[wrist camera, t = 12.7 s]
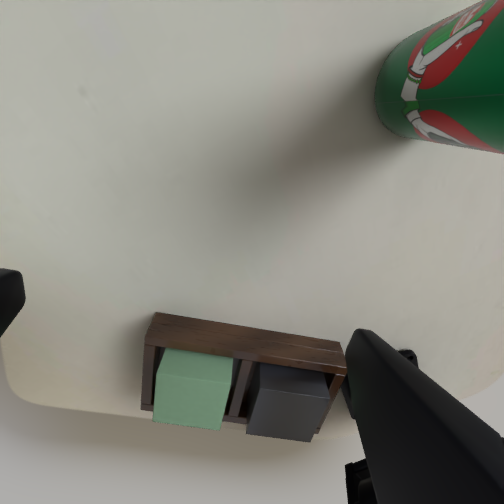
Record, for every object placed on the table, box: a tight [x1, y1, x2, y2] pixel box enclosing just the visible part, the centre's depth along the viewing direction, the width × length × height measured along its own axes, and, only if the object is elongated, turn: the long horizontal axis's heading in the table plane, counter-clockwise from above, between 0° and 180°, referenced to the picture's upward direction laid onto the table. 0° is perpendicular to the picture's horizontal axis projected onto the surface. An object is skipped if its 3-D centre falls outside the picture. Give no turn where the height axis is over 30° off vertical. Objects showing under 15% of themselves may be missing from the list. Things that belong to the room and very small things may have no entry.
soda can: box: [375, 0, 504, 154], centre depth 11 cm, size 5×5×12 cm
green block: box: [153, 348, 233, 430], centre depth 22 cm, size 5×5×3 cm
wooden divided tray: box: [141, 312, 347, 442], centre depth 23 cm, size 15×8×4 cm, turn 79°
